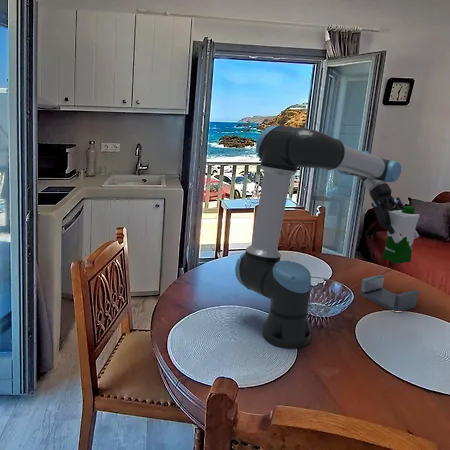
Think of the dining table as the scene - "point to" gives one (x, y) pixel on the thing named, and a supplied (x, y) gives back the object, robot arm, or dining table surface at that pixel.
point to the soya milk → (406, 229)
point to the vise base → (392, 299)
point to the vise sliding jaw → (372, 283)
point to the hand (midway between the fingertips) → (407, 239)
